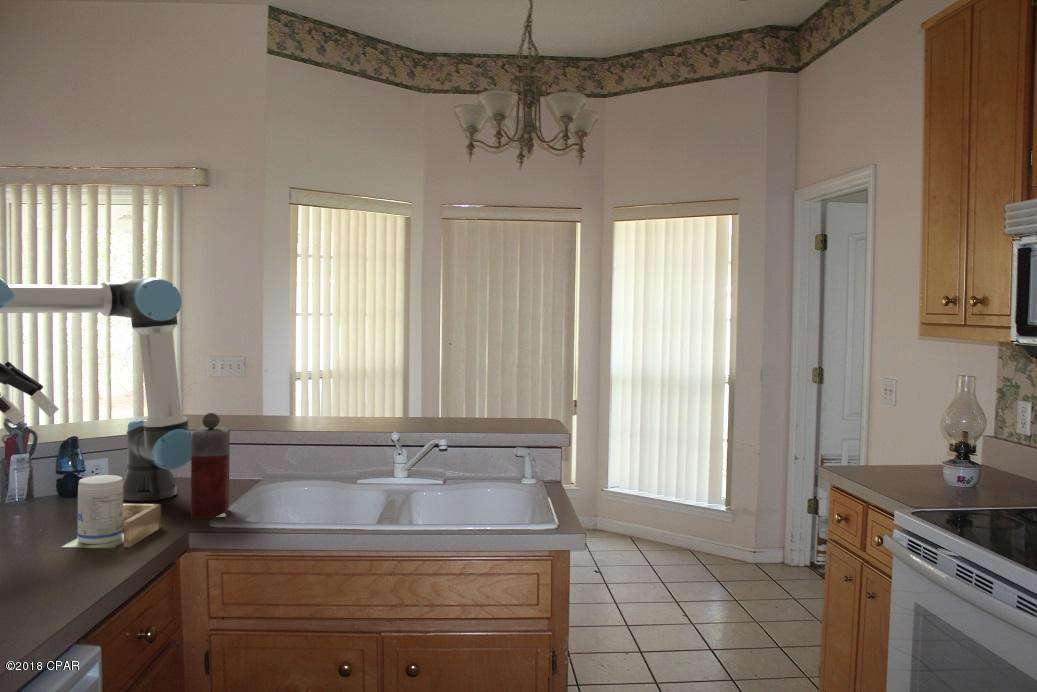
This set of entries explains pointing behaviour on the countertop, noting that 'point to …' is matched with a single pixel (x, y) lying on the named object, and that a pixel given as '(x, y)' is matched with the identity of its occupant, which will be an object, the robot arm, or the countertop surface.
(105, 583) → the countertop surface
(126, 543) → the corner arena
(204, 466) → the dark red bottle
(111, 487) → the supplement tub
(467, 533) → the countertop surface
